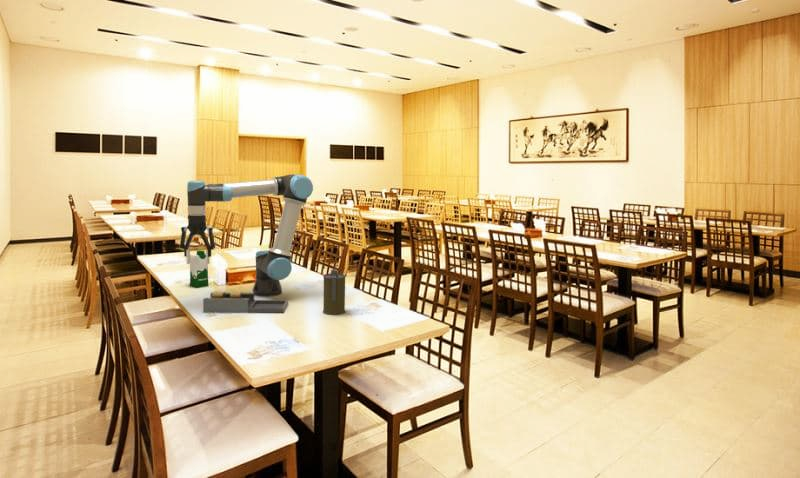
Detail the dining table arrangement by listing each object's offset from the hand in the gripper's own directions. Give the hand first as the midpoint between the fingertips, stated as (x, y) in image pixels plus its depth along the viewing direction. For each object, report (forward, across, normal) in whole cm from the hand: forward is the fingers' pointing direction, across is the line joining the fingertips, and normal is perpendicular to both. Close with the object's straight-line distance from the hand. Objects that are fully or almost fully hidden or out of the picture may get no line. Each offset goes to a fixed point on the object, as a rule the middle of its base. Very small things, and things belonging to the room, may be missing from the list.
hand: (198, 263), depth 232 cm
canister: (+21, -63, +5) cm, 67 cm away
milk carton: (+21, +14, -45) cm, 52 cm away
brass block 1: (+18, -9, 0) cm, 20 cm away
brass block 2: (+18, -17, 0) cm, 25 cm away
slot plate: (+21, -14, 0) cm, 25 cm away
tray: (+21, -32, 0) cm, 38 cm away
